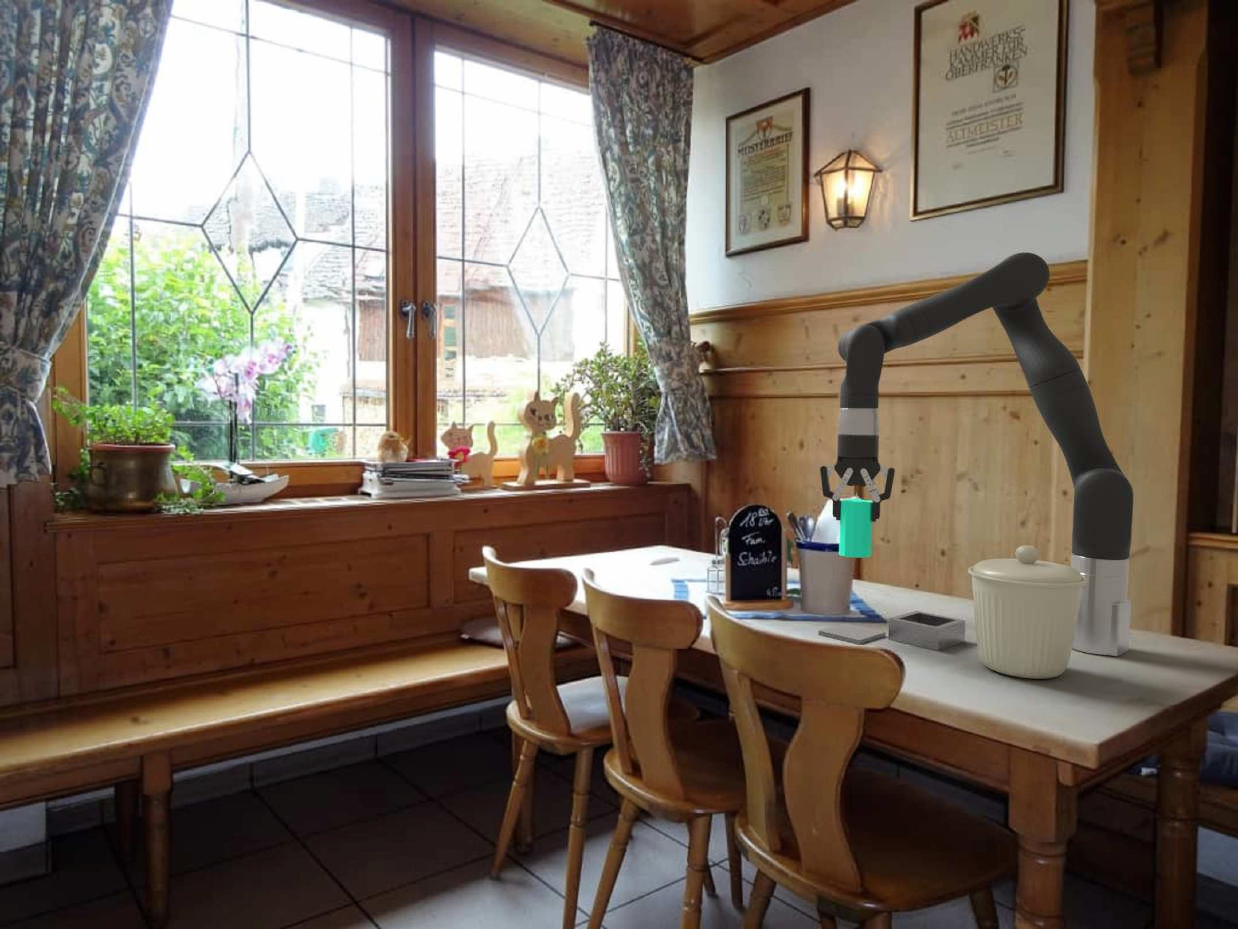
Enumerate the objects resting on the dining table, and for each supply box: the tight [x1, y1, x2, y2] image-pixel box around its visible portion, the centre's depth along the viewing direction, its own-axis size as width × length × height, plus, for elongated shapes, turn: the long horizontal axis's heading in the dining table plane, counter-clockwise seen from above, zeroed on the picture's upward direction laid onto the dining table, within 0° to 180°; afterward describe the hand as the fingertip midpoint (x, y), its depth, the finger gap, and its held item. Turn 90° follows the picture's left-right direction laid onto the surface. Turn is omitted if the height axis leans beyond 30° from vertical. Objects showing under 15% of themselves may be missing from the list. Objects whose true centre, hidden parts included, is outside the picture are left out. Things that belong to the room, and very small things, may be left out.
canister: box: [967, 545, 1088, 680], centre depth 144 cm, size 18×18×21 cm
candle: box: [838, 491, 873, 559], centre depth 165 cm, size 6×6×12 cm
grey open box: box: [887, 610, 966, 651], centre depth 163 cm, size 10×10×4 cm
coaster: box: [817, 623, 887, 645], centre depth 166 cm, size 9×9×1 cm
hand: (855, 520), depth 165 cm, fingers closed on candle, 6 cm apart
